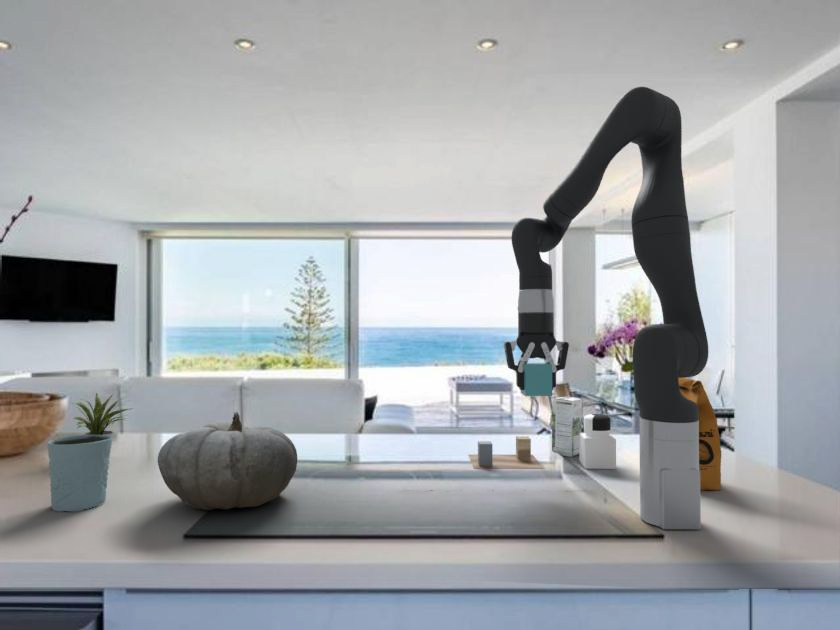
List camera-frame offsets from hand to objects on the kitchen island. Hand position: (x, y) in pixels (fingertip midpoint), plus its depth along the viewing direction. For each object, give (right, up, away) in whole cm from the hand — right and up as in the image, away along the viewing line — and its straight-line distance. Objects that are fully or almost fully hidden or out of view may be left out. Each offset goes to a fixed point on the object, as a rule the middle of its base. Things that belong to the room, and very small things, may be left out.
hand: (536, 389), depth 120 cm
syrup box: (+13, -20, +24) cm, 34 cm away
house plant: (-105, -20, +18) cm, 108 cm away
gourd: (-61, -19, -15) cm, 66 cm away
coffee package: (+32, -20, -2) cm, 38 cm away
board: (-5, -20, +12) cm, 24 cm away
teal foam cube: (0, -1, 0) cm, 1 cm away
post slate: (-10, -19, +9) cm, 23 cm away
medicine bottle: (+17, -20, +12) cm, 29 cm away
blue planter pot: (-88, -19, -17) cm, 91 cm away
